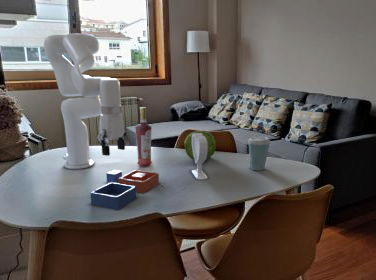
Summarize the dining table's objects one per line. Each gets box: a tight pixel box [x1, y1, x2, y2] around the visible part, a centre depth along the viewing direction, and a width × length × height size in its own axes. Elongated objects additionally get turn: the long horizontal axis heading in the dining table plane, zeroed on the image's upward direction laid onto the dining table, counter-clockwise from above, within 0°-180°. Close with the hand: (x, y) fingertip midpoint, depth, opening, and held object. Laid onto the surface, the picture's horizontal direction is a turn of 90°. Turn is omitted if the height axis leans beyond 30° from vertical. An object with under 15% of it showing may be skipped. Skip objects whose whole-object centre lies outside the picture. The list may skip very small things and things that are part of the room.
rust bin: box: [118, 169, 160, 194], centre depth 143 cm, size 11×11×4 cm
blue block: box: [105, 169, 123, 184], centre depth 147 cm, size 4×4×4 cm
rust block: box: [132, 173, 147, 181], centre depth 143 cm, size 4×4×4 cm
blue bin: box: [90, 182, 137, 211], centre depth 129 cm, size 11×11×4 cm
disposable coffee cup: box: [247, 136, 271, 171], centre depth 169 cm, size 11×11×15 cm
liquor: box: [134, 106, 153, 168], centre depth 167 cm, size 7×7×28 cm
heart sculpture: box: [191, 133, 208, 180], centre depth 158 cm, size 16×5×18 cm, turn 18°
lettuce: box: [184, 130, 217, 160], centre depth 183 cm, size 16×21×15 cm
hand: (113, 152), depth 145 cm, fingers open, 9 cm apart
